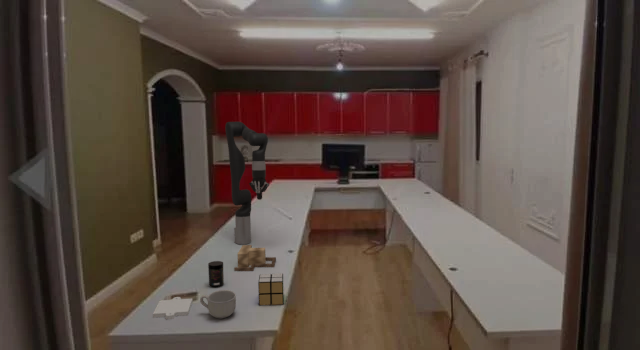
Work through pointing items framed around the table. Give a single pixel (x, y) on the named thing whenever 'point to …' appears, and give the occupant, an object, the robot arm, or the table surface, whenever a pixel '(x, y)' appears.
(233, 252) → the table surface
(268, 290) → the puzzle cube
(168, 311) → the mounting plate
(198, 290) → the table surface
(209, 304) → the teacup
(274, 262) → the T outline
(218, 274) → the supplement container
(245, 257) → the T block
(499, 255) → the table surface
